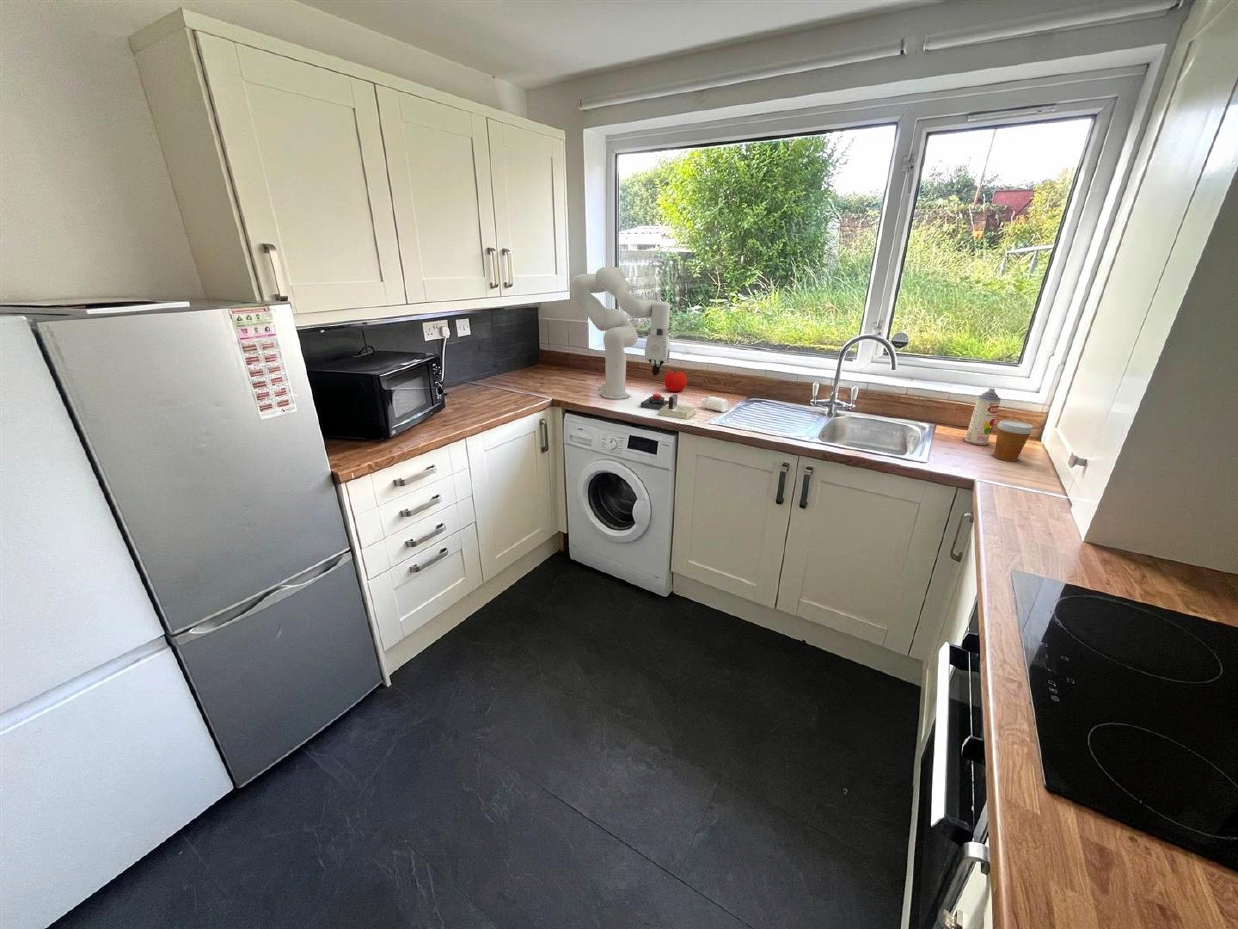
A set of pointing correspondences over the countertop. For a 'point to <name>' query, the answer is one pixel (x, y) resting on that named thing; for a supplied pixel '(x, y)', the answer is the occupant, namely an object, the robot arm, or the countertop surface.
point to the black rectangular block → (673, 401)
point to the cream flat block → (677, 411)
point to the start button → (656, 396)
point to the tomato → (675, 381)
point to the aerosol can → (983, 418)
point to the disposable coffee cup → (1011, 439)
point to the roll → (715, 403)
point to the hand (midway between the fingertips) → (655, 374)
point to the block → (654, 403)
